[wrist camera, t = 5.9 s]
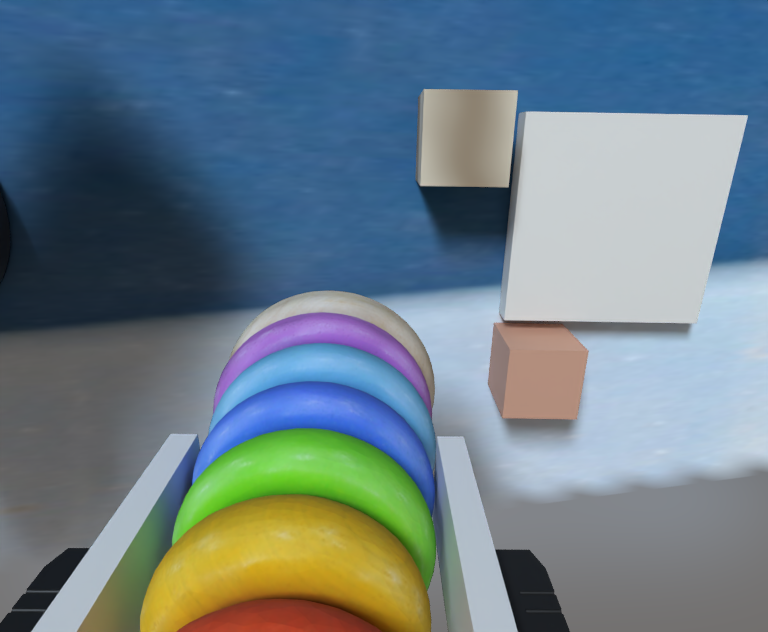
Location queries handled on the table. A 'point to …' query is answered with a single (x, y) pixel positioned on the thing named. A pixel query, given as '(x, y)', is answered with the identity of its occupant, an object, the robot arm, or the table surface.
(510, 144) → the birch block
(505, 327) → the terracotta block
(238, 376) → the stacking toy
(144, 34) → the table surface
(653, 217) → the white square slab
